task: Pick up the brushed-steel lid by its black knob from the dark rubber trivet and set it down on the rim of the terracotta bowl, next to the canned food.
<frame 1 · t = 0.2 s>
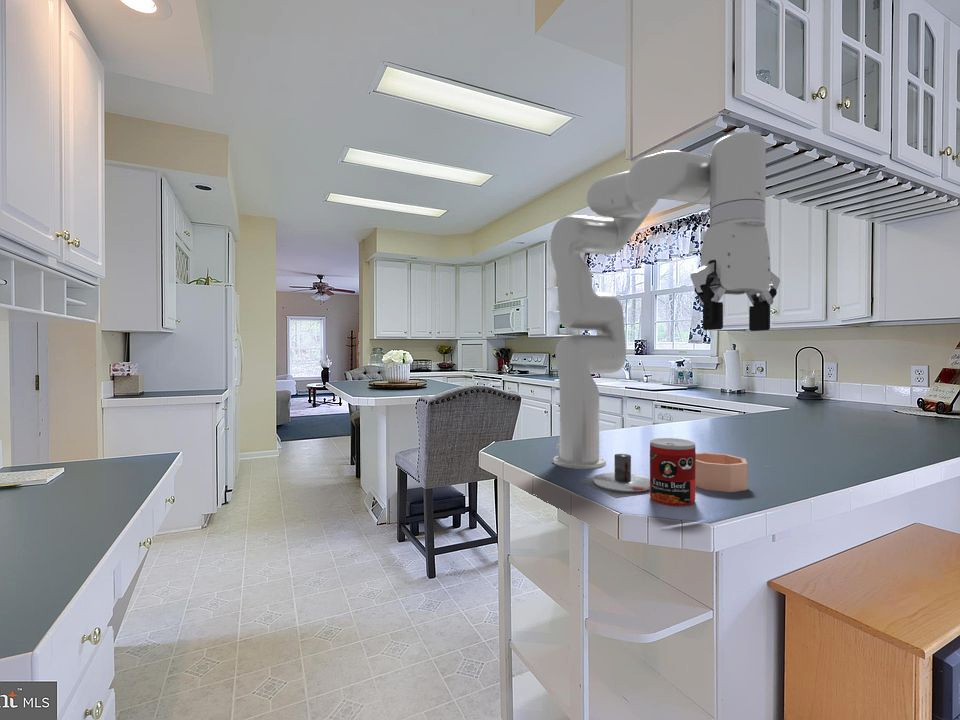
hand: (736, 330, 72), 31 cm above the worktop, tool pointing down, fingers open, 9 cm apart
lid: (622, 484, 94), resting on trivet
trivet: (622, 486, 94), on the worktop
bowl: (716, 485, 95), on the worktop
canned food: (672, 502, 85), on the worktop
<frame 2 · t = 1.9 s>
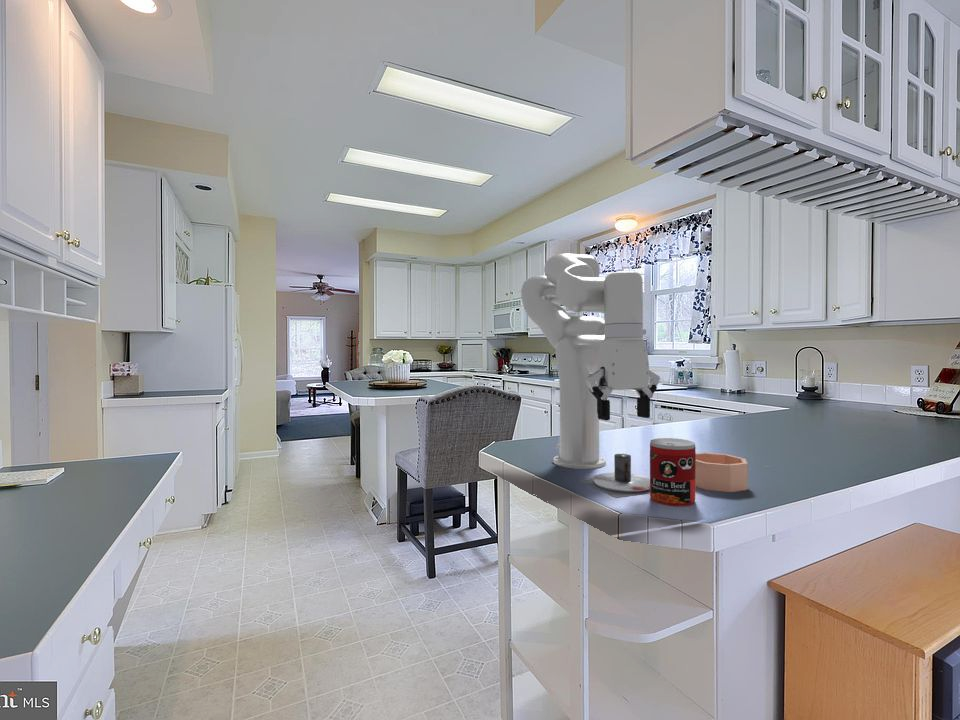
hand: (624, 418, 94), 14 cm above the worktop, tool pointing down, fingers open, 9 cm apart
nothing on the worktop moved.
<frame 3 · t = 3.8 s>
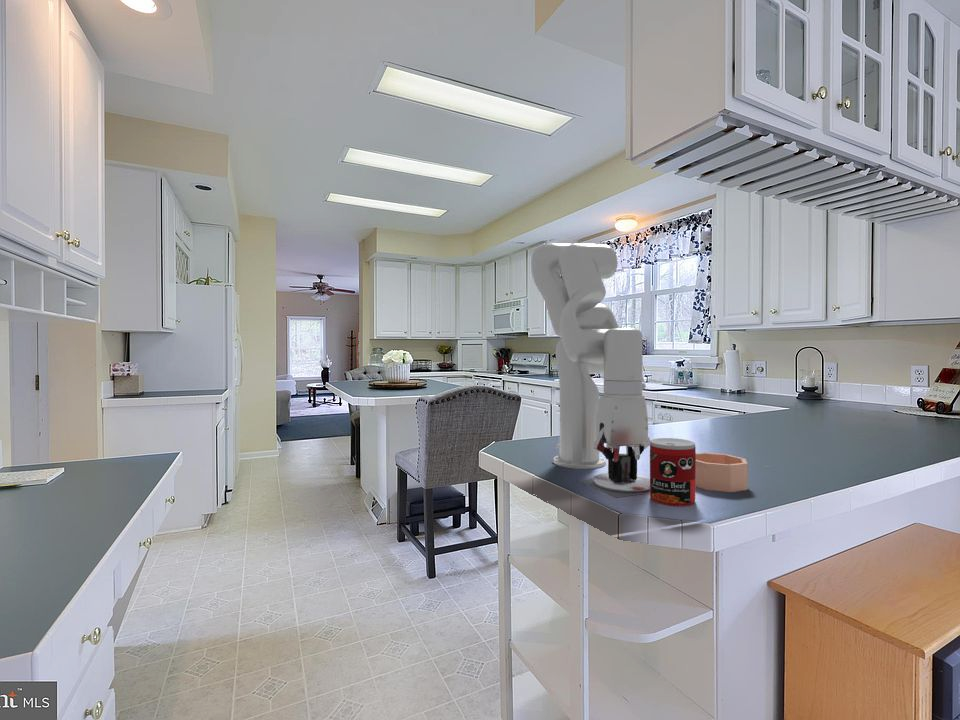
hand: (622, 478, 94), 2 cm above the worktop, tool pointing down, fingers closed on lid, 3 cm apart
lid: (622, 484, 94), resting on trivet, touching gripper
everything else where it was.
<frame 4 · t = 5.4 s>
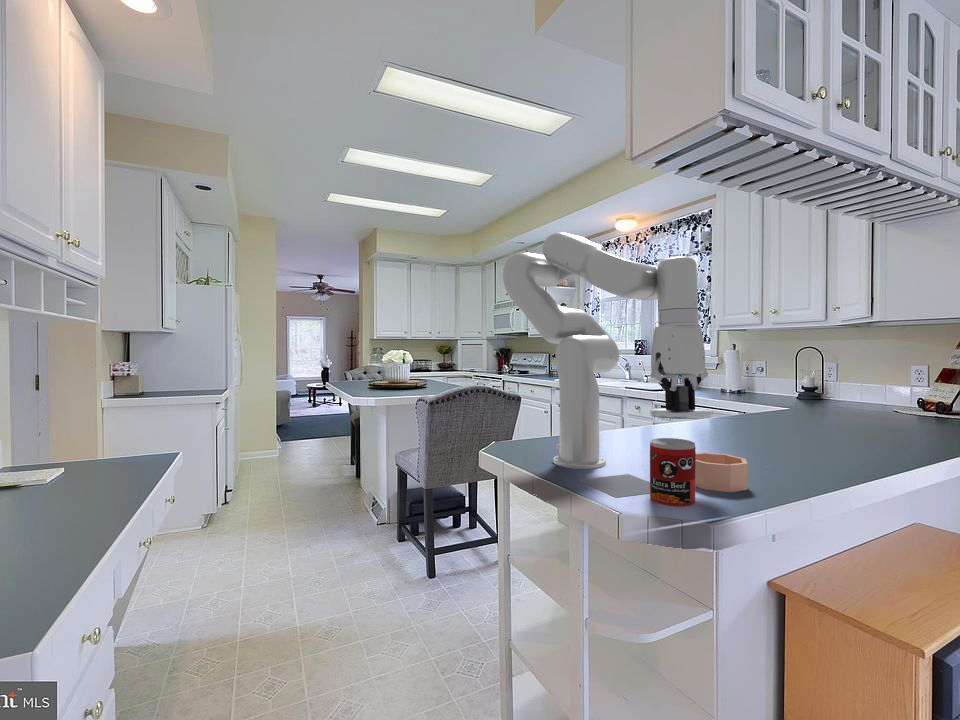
hand: (680, 409, 94), 16 cm above the worktop, tool pointing down, fingers closed on lid, 3 cm apart
lid: (680, 415, 94), point 15 cm above the worktop, touching gripper
everything else where it was.
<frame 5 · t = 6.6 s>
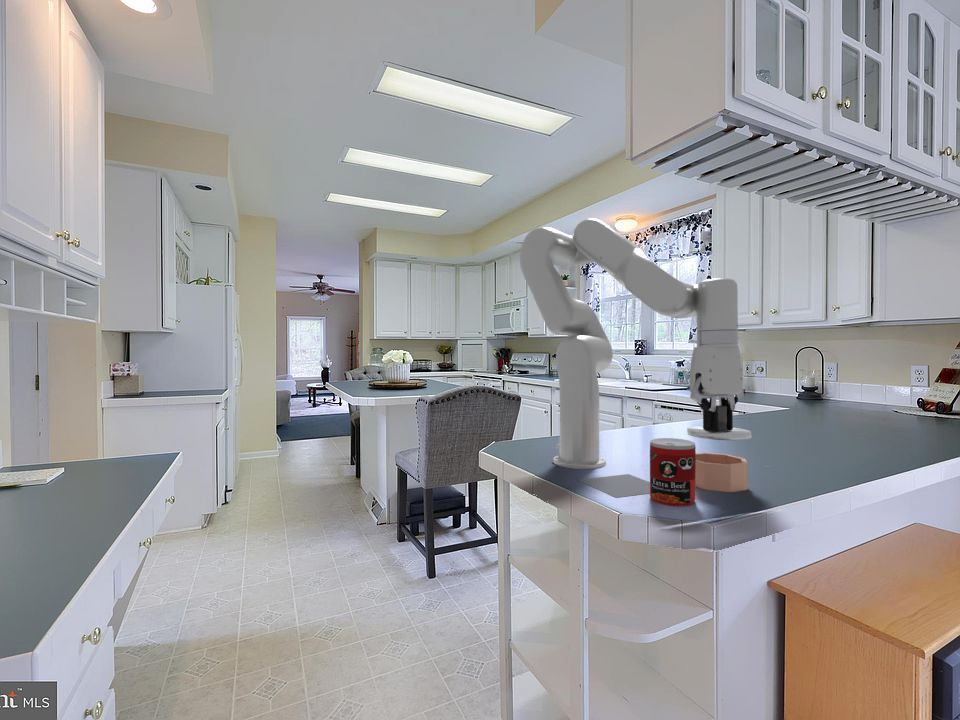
hand: (717, 429, 95), 12 cm above the worktop, tool pointing down, fingers closed on lid, 3 cm apart
lid: (718, 435, 95), point 10 cm above the worktop, touching gripper
everything else where it was.
when the fingers open (8 cm above the worktop, at t = 7.4 s): lid drops 1 cm, resting on bowl.
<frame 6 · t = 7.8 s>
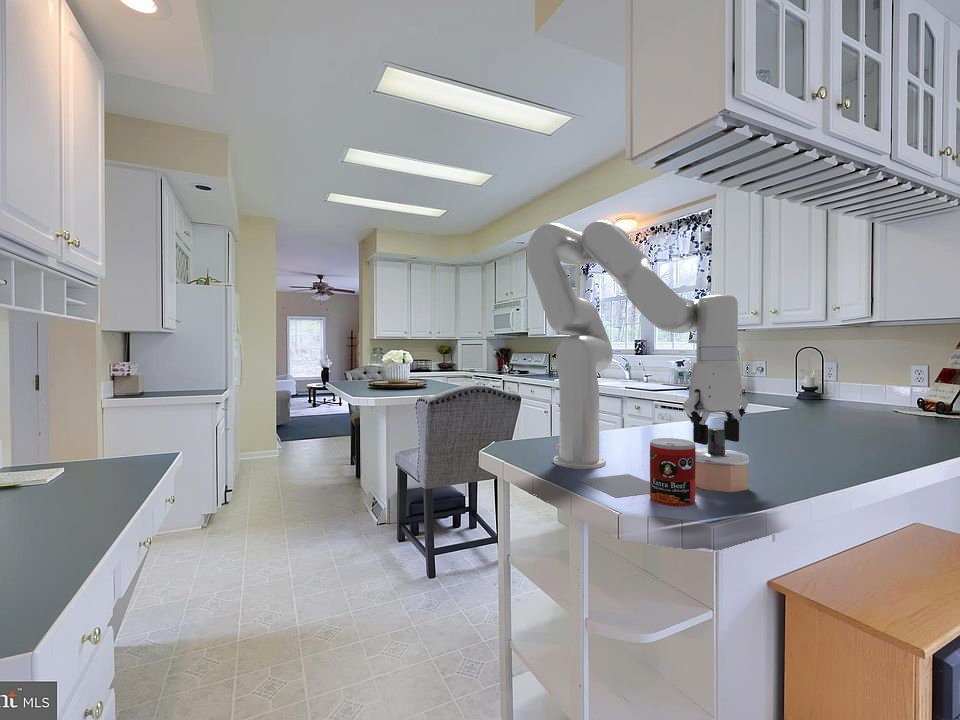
hand: (716, 441, 95), 9 cm above the worktop, tool pointing down, fingers open, 7 cm apart
lid: (716, 458, 95), point 5 cm above the worktop, touching bowl
everything else where it was.
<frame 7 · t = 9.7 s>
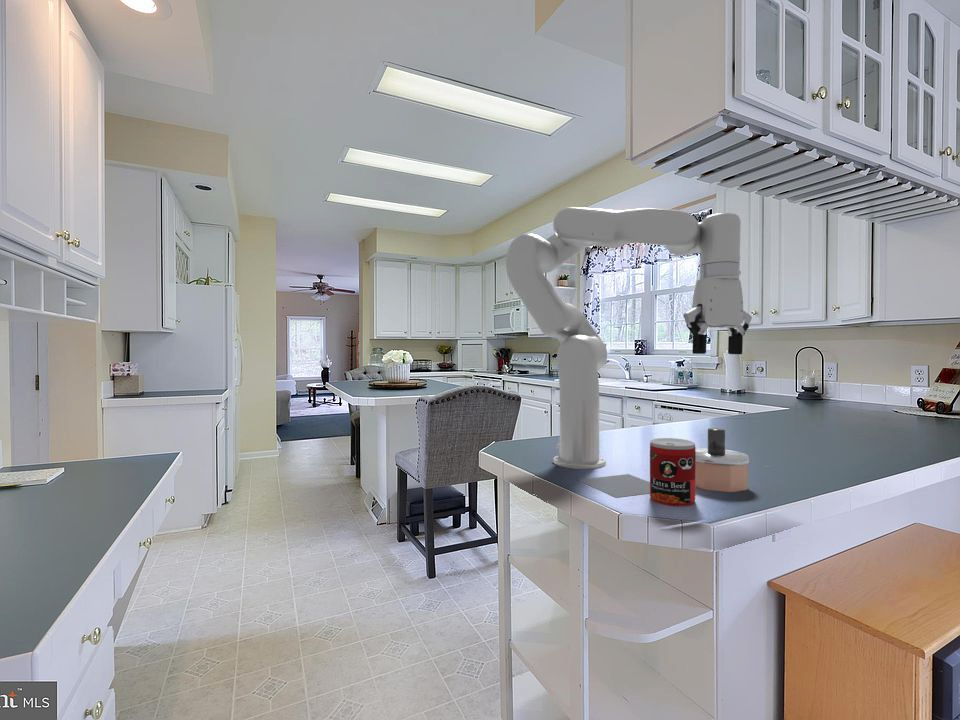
hand: (717, 354, 99), 27 cm above the worktop, tool pointing down, fingers open, 9 cm apart
nothing on the worktop moved.
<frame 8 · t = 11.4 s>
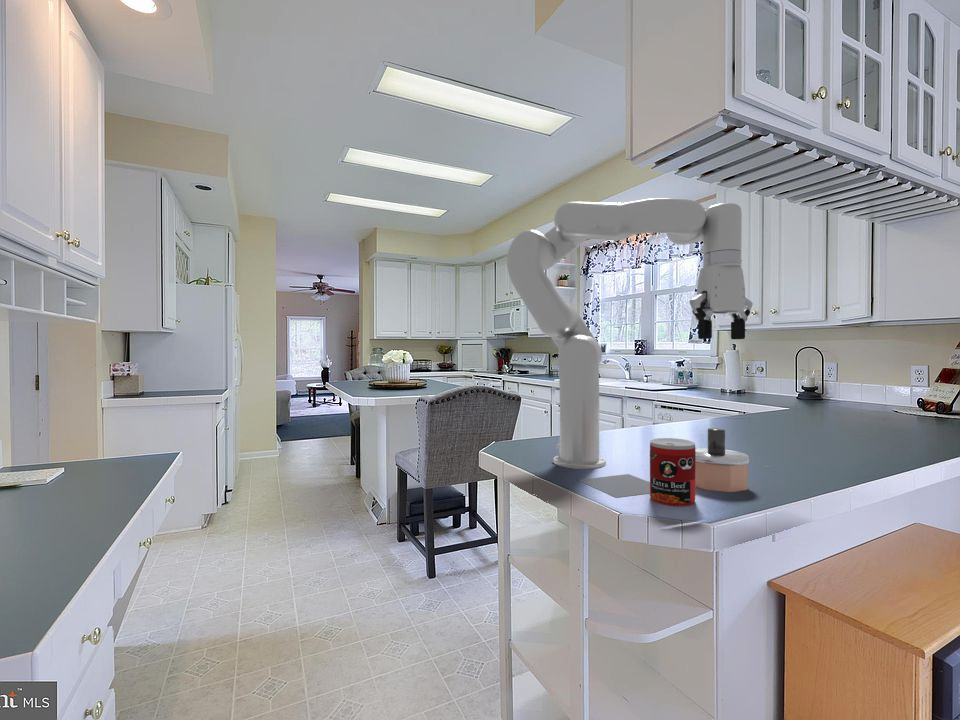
hand: (721, 338, 103), 30 cm above the worktop, tool pointing down, fingers open, 9 cm apart
nothing on the worktop moved.
at the end: lid 0.1 cm off-centre on the bowl, point 5.5 cm above the bowl's base; lid tilted 0°; the gripper is holding nothing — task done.
